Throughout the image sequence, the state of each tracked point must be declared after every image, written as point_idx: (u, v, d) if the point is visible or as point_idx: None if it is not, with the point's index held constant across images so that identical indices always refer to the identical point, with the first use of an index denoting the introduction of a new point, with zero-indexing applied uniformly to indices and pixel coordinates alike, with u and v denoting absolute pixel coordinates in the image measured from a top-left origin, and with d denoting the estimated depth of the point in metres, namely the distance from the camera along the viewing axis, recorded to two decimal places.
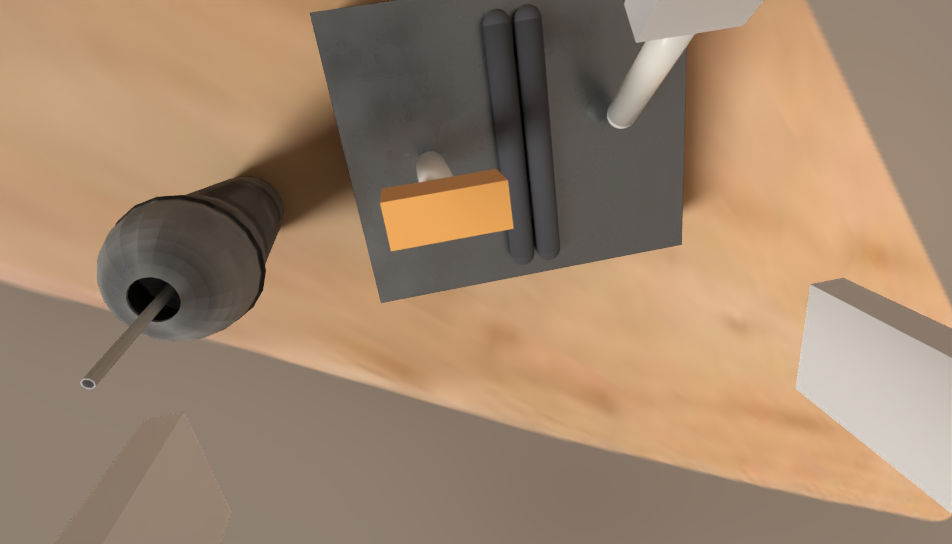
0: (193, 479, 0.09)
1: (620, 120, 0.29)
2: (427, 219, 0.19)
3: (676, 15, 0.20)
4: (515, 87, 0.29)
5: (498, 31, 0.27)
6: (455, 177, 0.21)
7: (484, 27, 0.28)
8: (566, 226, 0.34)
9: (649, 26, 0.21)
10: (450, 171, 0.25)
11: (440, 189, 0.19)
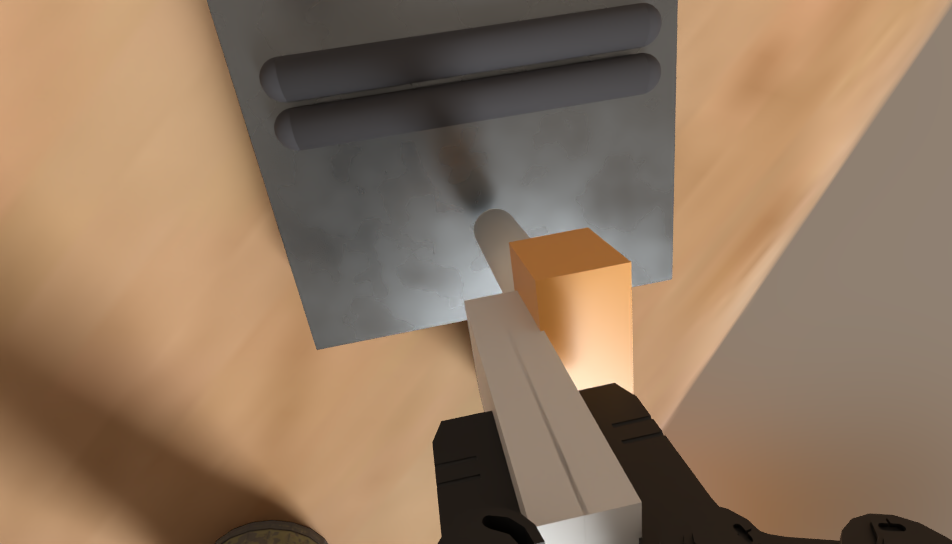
0: None
1: None
2: None
3: None
4: (381, 100, 0.19)
5: (303, 132, 0.18)
6: None
7: (301, 149, 0.19)
8: None
9: None
10: (505, 252, 0.16)
11: None
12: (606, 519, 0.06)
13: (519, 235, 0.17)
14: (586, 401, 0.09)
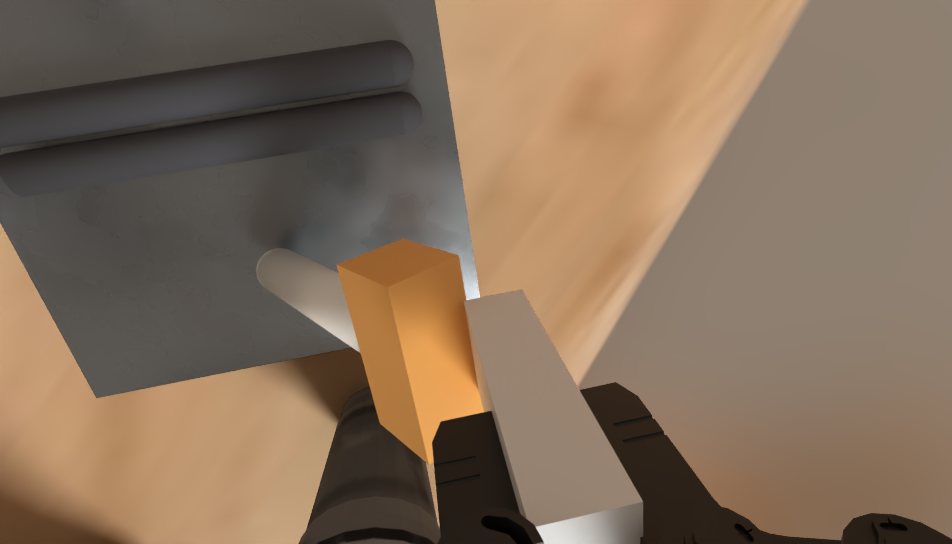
0: None
1: None
2: (448, 391, 0.12)
3: None
4: (101, 145, 0.17)
5: (15, 180, 0.17)
6: (359, 331, 0.13)
7: (26, 196, 0.18)
8: (355, 21, 0.18)
9: None
10: (312, 284, 0.16)
11: (400, 380, 0.12)
12: (607, 518, 0.06)
13: (318, 266, 0.17)
14: (587, 401, 0.09)
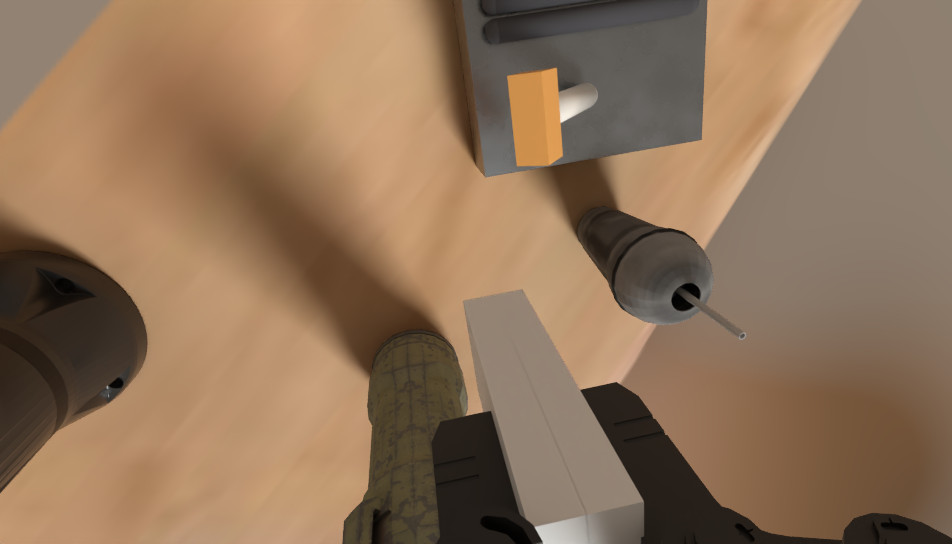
0: None
1: None
2: (529, 137, 0.28)
3: None
4: (545, 14, 0.34)
5: (504, 30, 0.34)
6: None
7: (498, 43, 0.34)
8: None
9: None
10: None
11: None
12: (608, 518, 0.06)
13: (572, 89, 0.33)
14: (588, 401, 0.09)
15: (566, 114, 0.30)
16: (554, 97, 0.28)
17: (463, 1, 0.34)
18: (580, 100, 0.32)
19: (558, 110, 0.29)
